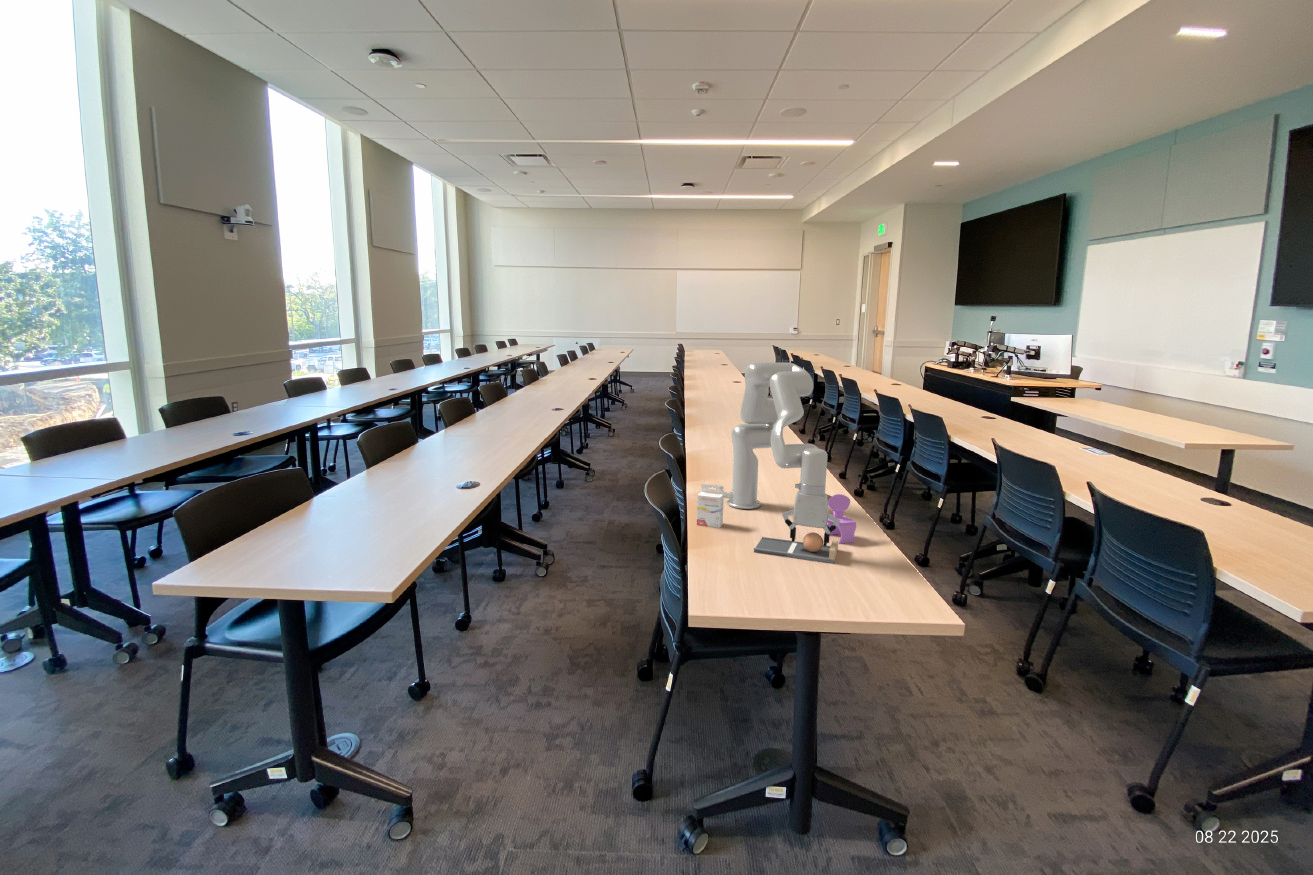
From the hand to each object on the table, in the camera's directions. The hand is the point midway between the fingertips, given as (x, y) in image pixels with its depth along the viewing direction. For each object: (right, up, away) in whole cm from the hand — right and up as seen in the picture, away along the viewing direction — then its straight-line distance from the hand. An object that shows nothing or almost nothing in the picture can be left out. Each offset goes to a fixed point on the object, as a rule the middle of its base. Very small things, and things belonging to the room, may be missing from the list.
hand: (809, 542), depth 185 cm
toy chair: (+13, -2, +12) cm, 18 cm away
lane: (-4, -3, +2) cm, 5 cm away
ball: (+2, +3, -2) cm, 4 cm away
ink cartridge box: (-29, +1, +25) cm, 38 cm away
